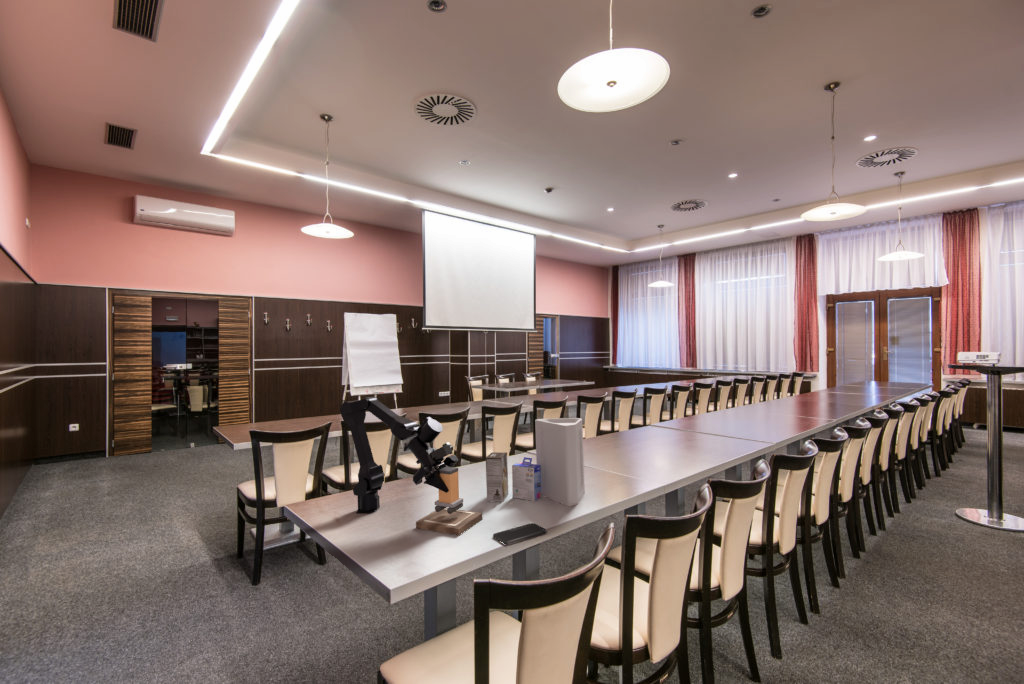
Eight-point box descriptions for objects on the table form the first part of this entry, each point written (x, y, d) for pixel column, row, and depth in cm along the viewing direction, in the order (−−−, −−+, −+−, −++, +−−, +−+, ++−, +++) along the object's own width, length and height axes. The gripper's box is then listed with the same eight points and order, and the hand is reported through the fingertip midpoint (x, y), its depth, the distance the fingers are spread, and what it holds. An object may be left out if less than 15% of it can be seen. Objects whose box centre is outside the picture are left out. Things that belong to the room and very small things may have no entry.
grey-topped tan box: (434, 511, 143) (433, 470, 143) (445, 505, 149) (444, 465, 149) (452, 514, 140) (451, 472, 140) (463, 507, 146) (462, 467, 146)
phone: (548, 530, 135) (505, 543, 127) (548, 534, 134) (505, 547, 127) (533, 522, 141) (491, 533, 133) (533, 526, 141) (491, 537, 133)
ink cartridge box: (542, 497, 167) (541, 458, 168) (535, 501, 163) (534, 461, 163) (519, 493, 173) (518, 455, 173) (512, 497, 168) (510, 458, 168)
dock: (416, 528, 142) (415, 521, 142) (441, 513, 154) (441, 506, 154) (459, 535, 135) (459, 528, 135) (482, 519, 147) (482, 512, 147)
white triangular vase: (599, 498, 165) (597, 421, 165) (568, 506, 157) (565, 425, 157) (566, 485, 181) (564, 415, 181) (536, 492, 173) (534, 419, 173)
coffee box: (492, 493, 174) (491, 451, 174) (508, 494, 172) (507, 452, 173) (486, 501, 165) (485, 457, 165) (503, 502, 163) (502, 457, 164)
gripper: (419, 441, 138) (450, 481, 133) (453, 431, 155) (481, 466, 150) (399, 465, 142) (429, 504, 137) (434, 452, 158) (462, 487, 153)
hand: (452, 489), depth 144 cm, fingers closed on grey-topped tan box, 5 cm apart
